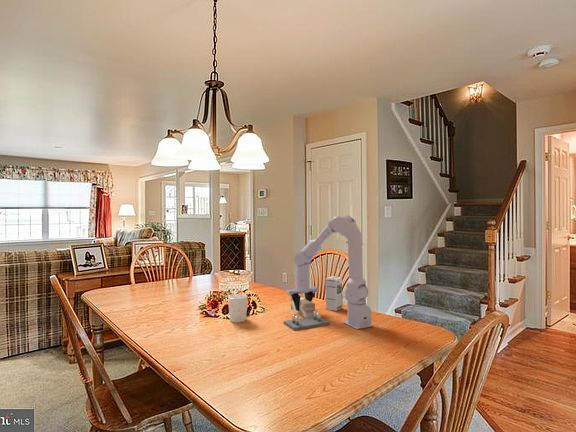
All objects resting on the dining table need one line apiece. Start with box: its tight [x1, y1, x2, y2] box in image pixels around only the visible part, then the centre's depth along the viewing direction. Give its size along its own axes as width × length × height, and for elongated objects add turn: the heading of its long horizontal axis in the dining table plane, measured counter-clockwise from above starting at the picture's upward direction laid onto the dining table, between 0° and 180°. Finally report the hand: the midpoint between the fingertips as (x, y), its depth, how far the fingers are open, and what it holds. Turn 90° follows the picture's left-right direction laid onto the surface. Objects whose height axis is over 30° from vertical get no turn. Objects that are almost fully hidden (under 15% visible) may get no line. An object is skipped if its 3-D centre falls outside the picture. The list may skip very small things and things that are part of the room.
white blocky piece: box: [290, 296, 316, 318], centre depth 162 cm, size 14×4×6 cm, turn 27°
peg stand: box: [283, 310, 330, 331], centre depth 146 cm, size 16×9×4 cm, turn 117°
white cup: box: [227, 293, 248, 323], centre depth 151 cm, size 8×8×10 cm
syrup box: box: [325, 275, 343, 312], centre depth 168 cm, size 6×6×14 cm
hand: (302, 309), depth 162 cm, fingers closed on white blocky piece, 4 cm apart
